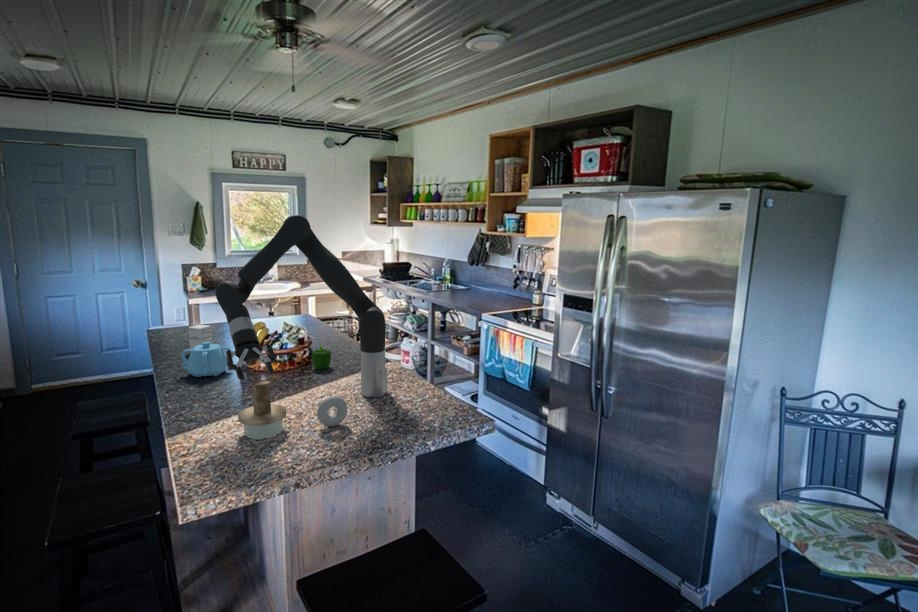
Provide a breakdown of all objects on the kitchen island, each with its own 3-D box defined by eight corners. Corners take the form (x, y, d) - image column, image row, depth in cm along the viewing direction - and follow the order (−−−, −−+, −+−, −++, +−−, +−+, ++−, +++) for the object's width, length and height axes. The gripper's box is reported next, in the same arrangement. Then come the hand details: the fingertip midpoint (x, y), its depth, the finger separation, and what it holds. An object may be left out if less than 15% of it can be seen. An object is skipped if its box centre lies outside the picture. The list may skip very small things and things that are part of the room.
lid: (277, 404, 167) (276, 372, 165) (293, 418, 156) (291, 384, 154) (232, 414, 158) (230, 380, 156) (245, 429, 148) (243, 393, 146)
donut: (345, 420, 167) (344, 392, 165) (349, 424, 164) (349, 395, 163) (315, 427, 162) (314, 397, 160) (319, 431, 159) (318, 401, 157)
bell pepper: (328, 371, 218) (328, 348, 216) (309, 370, 218) (308, 348, 216) (333, 365, 226) (333, 343, 224) (315, 364, 226) (314, 343, 224)
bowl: (289, 426, 162) (288, 411, 161) (270, 440, 152) (269, 425, 151) (258, 422, 164) (257, 408, 163) (237, 437, 154) (236, 421, 153)
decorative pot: (178, 375, 209) (175, 343, 206) (214, 365, 223) (211, 335, 220) (201, 382, 201) (198, 349, 198) (237, 372, 214) (235, 341, 212)
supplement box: (189, 352, 241) (187, 327, 239) (201, 349, 248) (199, 323, 246) (202, 354, 239) (200, 328, 237) (213, 350, 246) (212, 325, 244)
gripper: (221, 330, 158) (234, 375, 151) (267, 324, 167) (282, 366, 160) (218, 343, 163) (231, 387, 156) (263, 337, 172) (277, 378, 165)
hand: (256, 376), depth 158 cm, fingers open, 8 cm apart
